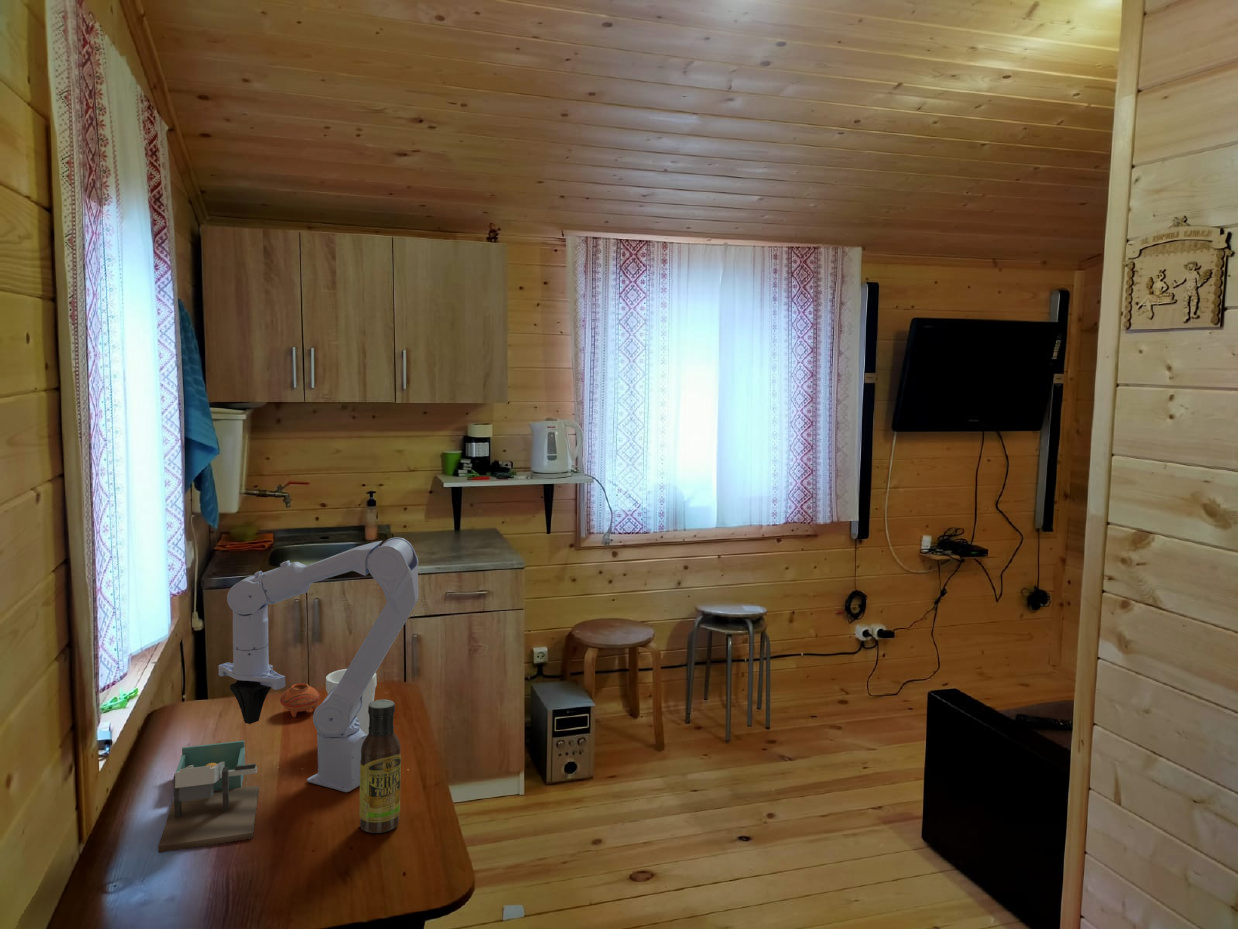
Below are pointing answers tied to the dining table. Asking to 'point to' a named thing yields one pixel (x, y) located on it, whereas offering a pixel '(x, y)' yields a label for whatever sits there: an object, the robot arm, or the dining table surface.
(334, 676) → the foam cup
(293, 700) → the pot
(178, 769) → the teal open box
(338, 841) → the dining table surface
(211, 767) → the ball
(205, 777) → the tray
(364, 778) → the sauce bottle
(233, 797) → the stand
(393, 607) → the robot arm
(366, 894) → the dining table surface
